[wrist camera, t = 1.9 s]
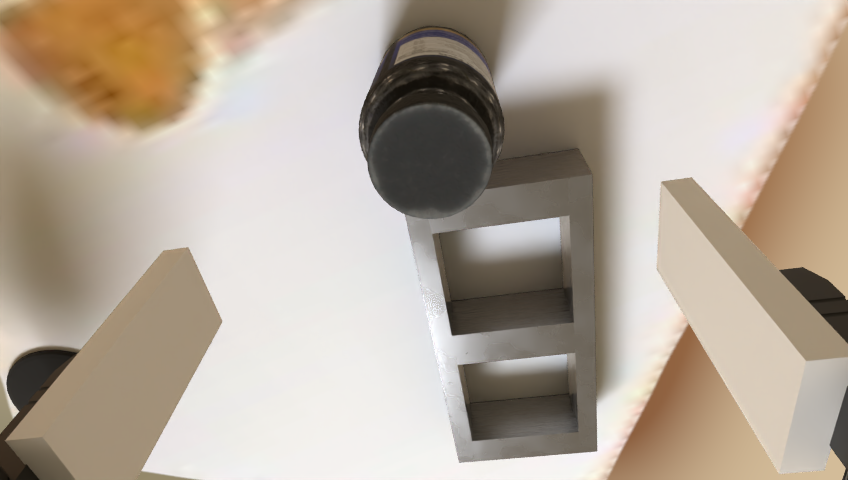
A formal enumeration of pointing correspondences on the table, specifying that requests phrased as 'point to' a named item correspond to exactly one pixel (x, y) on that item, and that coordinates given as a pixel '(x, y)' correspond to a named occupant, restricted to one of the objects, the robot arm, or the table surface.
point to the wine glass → (33, 374)
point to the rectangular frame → (518, 314)
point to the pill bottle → (431, 124)
